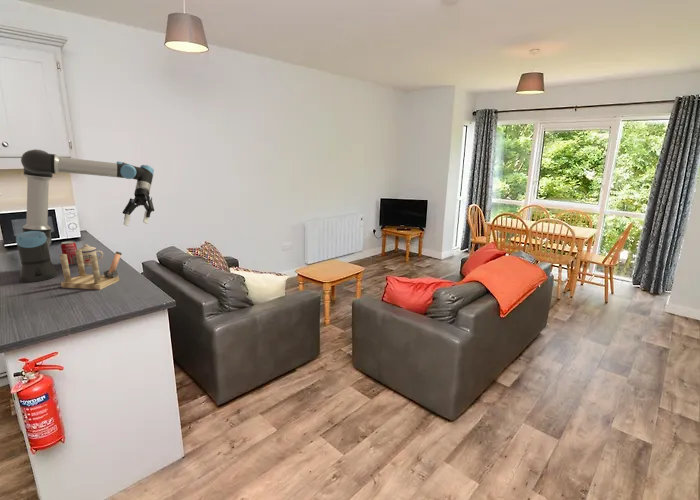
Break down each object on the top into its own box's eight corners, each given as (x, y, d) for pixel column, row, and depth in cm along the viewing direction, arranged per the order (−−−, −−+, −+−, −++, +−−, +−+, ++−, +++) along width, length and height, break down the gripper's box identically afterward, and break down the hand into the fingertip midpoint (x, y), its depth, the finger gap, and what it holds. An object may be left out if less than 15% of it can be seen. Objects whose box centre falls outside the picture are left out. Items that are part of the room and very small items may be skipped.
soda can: (82, 262, 219) (78, 241, 216) (72, 265, 212) (68, 243, 209) (71, 261, 220) (67, 240, 217) (61, 265, 213) (56, 243, 210)
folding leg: (105, 275, 186) (114, 251, 192) (109, 277, 188) (118, 253, 194) (110, 275, 186) (119, 251, 191) (114, 277, 188) (123, 253, 194)
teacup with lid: (79, 267, 210) (75, 247, 207) (79, 263, 217) (76, 244, 214) (104, 264, 217) (101, 244, 214) (104, 260, 224) (101, 241, 221)
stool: (61, 287, 180) (55, 255, 176) (82, 278, 192) (77, 248, 188) (100, 289, 178) (95, 257, 174) (119, 280, 190) (114, 250, 186)
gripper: (164, 190, 217) (158, 224, 211) (130, 195, 224) (123, 228, 217) (155, 184, 211) (148, 219, 204) (120, 190, 217) (112, 223, 210)
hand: (135, 224), depth 210 cm, fingers open, 13 cm apart
